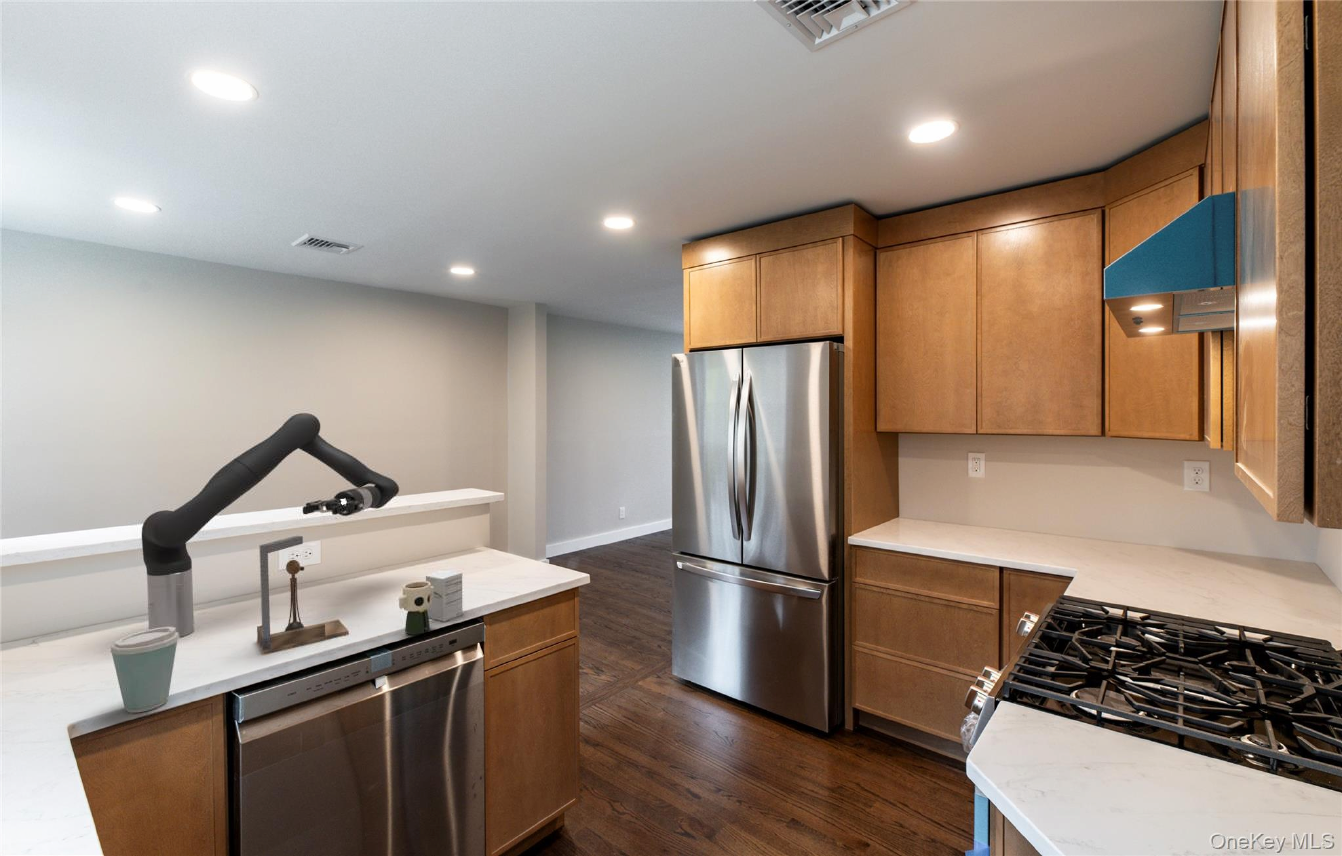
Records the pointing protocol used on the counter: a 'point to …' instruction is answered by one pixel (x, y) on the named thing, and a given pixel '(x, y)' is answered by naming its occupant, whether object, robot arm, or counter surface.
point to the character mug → (416, 605)
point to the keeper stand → (264, 637)
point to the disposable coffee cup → (145, 667)
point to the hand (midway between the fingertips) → (318, 510)
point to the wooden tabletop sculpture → (294, 595)
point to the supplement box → (445, 595)
